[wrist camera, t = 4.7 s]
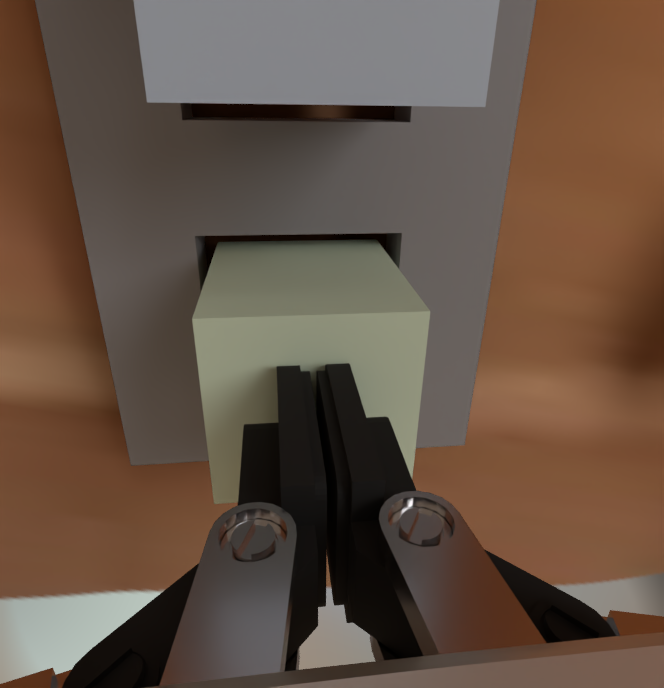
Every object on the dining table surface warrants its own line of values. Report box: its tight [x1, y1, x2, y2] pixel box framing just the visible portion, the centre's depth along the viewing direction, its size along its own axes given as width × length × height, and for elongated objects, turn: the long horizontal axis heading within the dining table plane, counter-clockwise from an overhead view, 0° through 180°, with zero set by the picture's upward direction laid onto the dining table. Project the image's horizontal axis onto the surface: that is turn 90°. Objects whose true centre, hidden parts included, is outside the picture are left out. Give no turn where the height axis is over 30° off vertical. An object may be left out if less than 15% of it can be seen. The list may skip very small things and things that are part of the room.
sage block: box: [192, 239, 430, 504], centre depth 14 cm, size 5×5×6 cm
